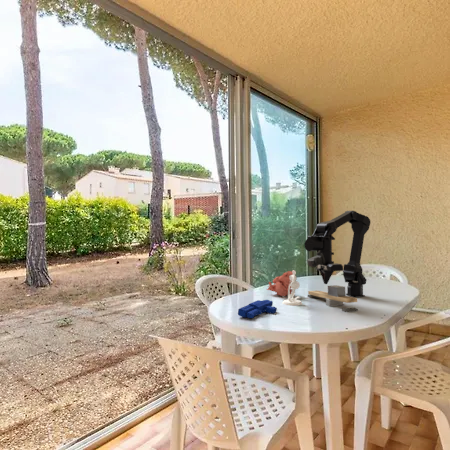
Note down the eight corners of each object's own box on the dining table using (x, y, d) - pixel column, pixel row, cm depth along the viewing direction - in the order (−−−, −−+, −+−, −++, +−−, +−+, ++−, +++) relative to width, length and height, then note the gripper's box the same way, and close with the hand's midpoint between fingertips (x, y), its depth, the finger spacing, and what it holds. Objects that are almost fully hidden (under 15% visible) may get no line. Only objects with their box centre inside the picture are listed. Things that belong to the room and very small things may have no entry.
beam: (317, 293, 167) (317, 290, 168) (357, 301, 139) (357, 298, 139) (308, 294, 166) (308, 291, 166) (346, 302, 137) (346, 299, 137)
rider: (335, 294, 152) (335, 285, 152) (345, 296, 145) (345, 286, 146) (328, 295, 151) (327, 285, 151) (337, 296, 144) (337, 287, 144)
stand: (319, 295, 168) (319, 291, 168) (359, 310, 139) (359, 304, 139) (306, 296, 166) (306, 292, 166) (344, 312, 137) (344, 306, 137)
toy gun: (283, 301, 144) (262, 295, 150) (259, 313, 127) (236, 306, 132) (282, 311, 145) (261, 304, 150) (257, 324, 127) (235, 316, 132)
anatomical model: (294, 269, 165) (264, 269, 170) (294, 295, 161) (262, 294, 166) (297, 273, 174) (268, 273, 179) (296, 298, 170) (267, 297, 175)
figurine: (302, 305, 149) (302, 271, 148) (282, 305, 150) (281, 271, 150) (301, 301, 157) (301, 268, 157) (282, 300, 159) (282, 268, 159)
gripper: (299, 249, 163) (299, 281, 163) (321, 252, 145) (321, 289, 145) (319, 248, 166) (320, 280, 166) (343, 251, 148) (344, 287, 148)
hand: (325, 284), depth 156 cm, fingers closed
